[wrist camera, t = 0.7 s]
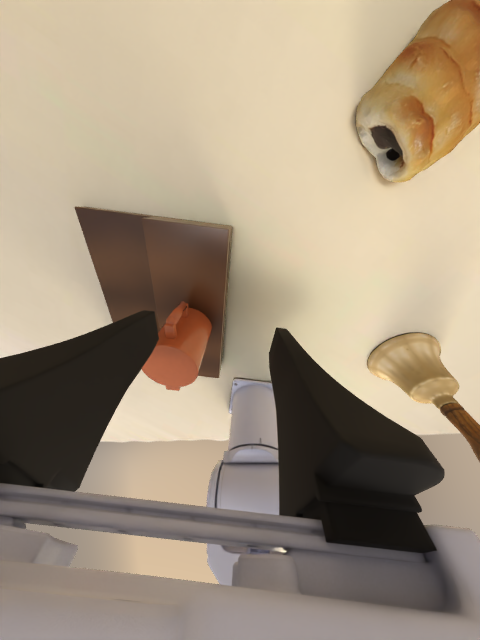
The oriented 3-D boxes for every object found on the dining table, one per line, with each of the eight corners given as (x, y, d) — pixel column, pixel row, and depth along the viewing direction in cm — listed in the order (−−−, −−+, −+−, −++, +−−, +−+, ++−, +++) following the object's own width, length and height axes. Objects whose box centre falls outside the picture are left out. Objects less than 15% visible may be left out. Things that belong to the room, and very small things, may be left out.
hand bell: (386, 385, 27) (521, 562, 13) (354, 358, 24) (479, 543, 11) (449, 355, 23) (722, 558, 10) (419, 320, 21) (726, 527, 7)
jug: (211, 349, 21) (198, 394, 16) (171, 344, 21) (145, 388, 16) (213, 296, 17) (197, 332, 12) (164, 290, 17) (127, 324, 12)
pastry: (515, -95, 9) (676, -278, 5) (544, 52, 11) (671, -15, 7) (341, 121, 13) (372, 91, 9) (387, 196, 15) (425, 193, 12)
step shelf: (222, 361, 26) (218, 378, 24) (127, 350, 26) (114, 365, 24) (232, 225, 17) (229, 229, 14) (82, 206, 16) (52, 206, 14)
